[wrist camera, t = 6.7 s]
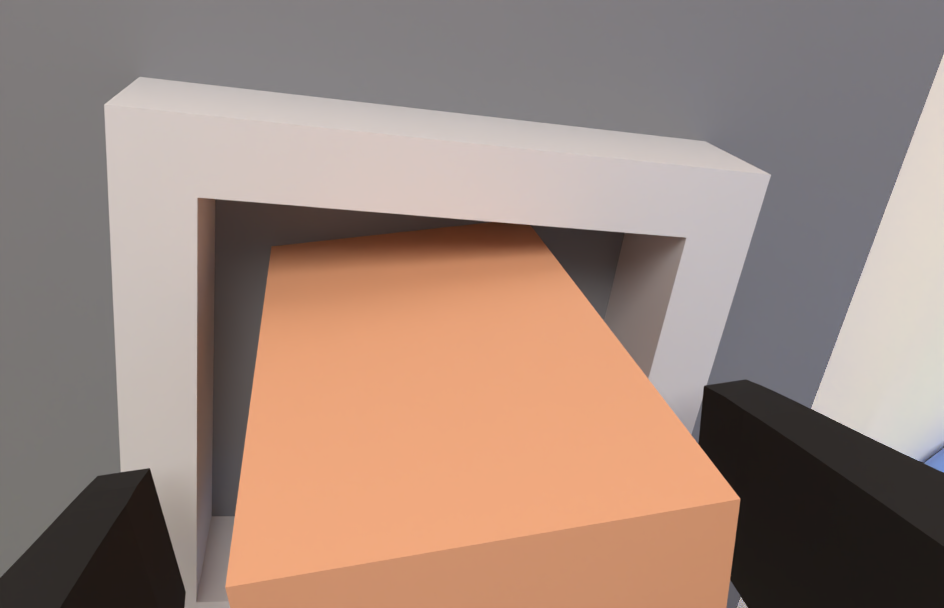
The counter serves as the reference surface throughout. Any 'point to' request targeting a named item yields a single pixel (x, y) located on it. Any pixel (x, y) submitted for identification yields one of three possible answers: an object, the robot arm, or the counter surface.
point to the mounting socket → (415, 199)
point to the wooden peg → (462, 440)
